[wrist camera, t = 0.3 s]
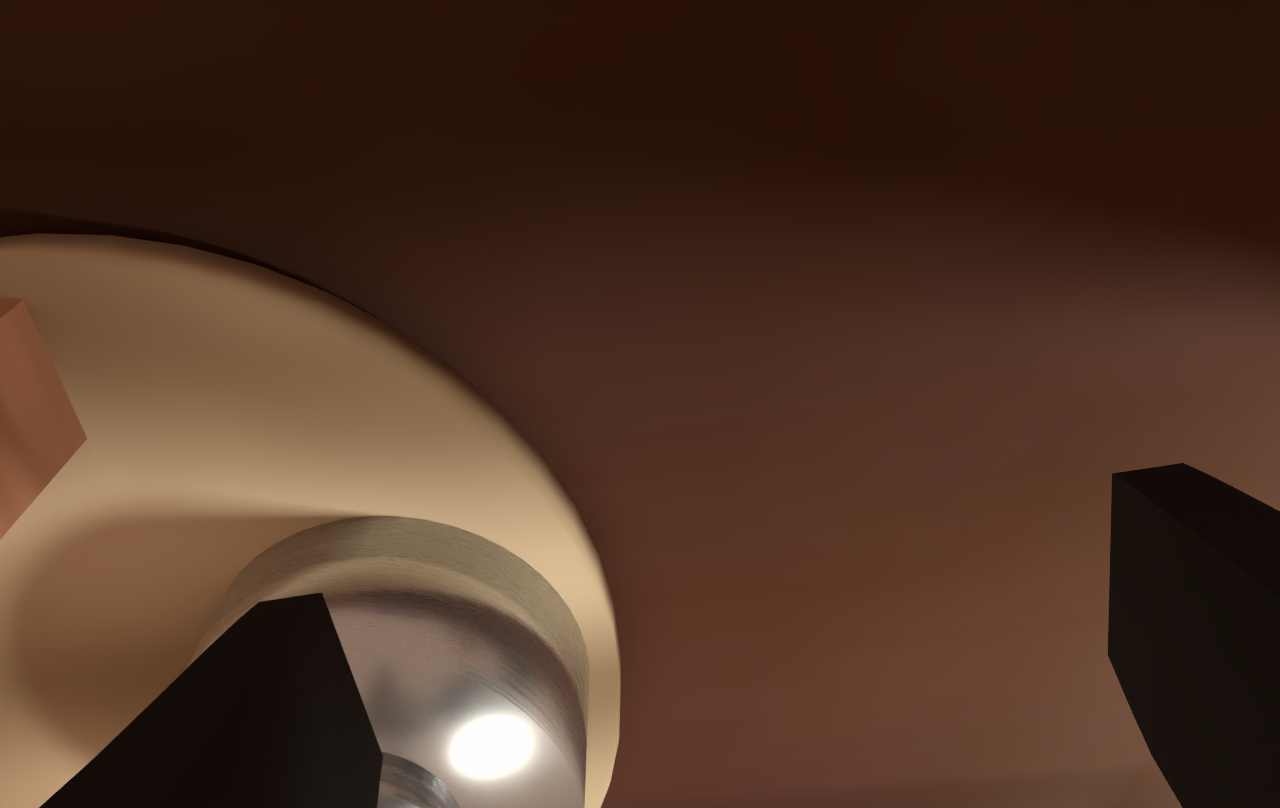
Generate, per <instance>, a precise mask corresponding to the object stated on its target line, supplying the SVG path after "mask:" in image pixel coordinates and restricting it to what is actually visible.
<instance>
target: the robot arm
mask: <svg viewBox="0 0 1280 808" xmlns="http://www.w3.org/2000/svg"><path fill="white" fill-rule="evenodd" d="M1108 656H1109V659H1110V661H1111V663H1112V666H1113V668H1114V670H1115V673H1116V675H1117V677H1118V680H1119V682H1120V685H1121V687H1122V689H1123V692H1124V694H1125V696H1126V699H1127V701H1128V704H1129V706H1130V708H1131V711H1132V713H1133V715H1134V717H1135V719H1136V722H1137V724H1138V726H1139V728H1140V730H1141V733H1142V735H1143V737H1144V739H1145V741H1146V744H1147V746H1148V748H1149V750H1150V752H1151V755H1152V756H1153V758H1154V760H1155V762H1156V763H1157V765H1158V767H1159V768H1160V770H1161V772H1162V774H1163V775H1164V777H1165V779H1166V780H1167V782H1168V784H1169V785H1170V787H1171V789H1172V791H1173V792H1174V794H1175V796H1176V797H1177V799H1178V801H1179V802H1180V804H1181V806H1182V807H1183V808H1280V511H1278V510H1276V509H1274V508H1272V507H1270V506H1268V505H1266V504H1265V503H1263V502H1261V501H1259V500H1257V499H1255V498H1253V497H1251V496H1249V495H1247V494H1245V493H1244V492H1242V491H1240V490H1238V489H1236V488H1234V487H1232V486H1230V485H1228V484H1226V483H1224V482H1222V481H1220V480H1218V479H1216V478H1214V477H1212V476H1210V475H1208V474H1206V473H1204V472H1202V471H1200V470H1197V469H1195V468H1193V467H1191V466H1189V465H1186V464H1184V463H1180V464H1173V465H1167V466H1160V467H1153V468H1147V469H1140V470H1133V471H1127V472H1120V473H1113V474H1112V505H1111V546H1110V588H1109V630H1108ZM382 760H383V755H382V752H381V749H380V746H379V744H378V741H377V738H376V736H375V733H374V730H373V728H372V725H371V722H370V720H369V717H368V714H367V712H366V709H365V706H364V704H363V701H362V698H361V696H360V693H359V690H358V687H357V685H356V682H355V679H354V677H353V674H352V671H351V669H350V666H349V663H348V661H347V658H346V655H345V653H344V650H343V647H342V645H341V642H340V639H339V637H338V634H337V631H336V629H335V626H334V623H333V620H332V618H331V615H330V612H329V610H328V607H327V604H326V602H325V599H324V596H323V594H322V592H321V593H314V594H308V595H301V596H294V597H288V598H281V599H274V600H268V601H261V602H258V603H257V604H256V605H255V606H253V607H252V608H251V609H250V610H249V611H247V612H246V613H245V614H244V615H243V616H241V617H240V618H239V619H238V620H237V621H236V622H235V623H234V624H233V625H232V626H230V627H229V628H228V629H227V630H226V631H225V632H224V633H223V634H222V635H221V636H220V637H219V638H218V639H217V640H216V641H214V642H213V643H212V644H211V645H210V646H209V647H208V648H207V649H206V650H205V651H204V652H203V653H202V654H201V655H200V656H199V657H198V658H197V659H196V660H195V661H194V662H193V663H192V664H191V665H190V666H189V667H188V668H187V669H186V670H185V671H183V672H182V673H181V674H180V675H179V676H178V677H177V678H176V679H175V680H174V681H173V682H172V683H171V684H170V685H169V686H168V687H167V688H166V689H165V690H164V691H163V692H162V693H161V694H160V695H159V696H158V697H157V698H156V699H155V700H154V701H153V702H152V703H151V704H150V705H149V706H147V707H146V708H145V709H144V710H143V711H142V712H141V713H140V714H139V715H138V716H137V717H136V718H135V719H134V720H133V721H132V722H131V723H130V724H129V725H128V726H127V727H126V728H125V729H124V730H123V731H122V732H120V733H119V734H118V735H117V736H116V737H115V738H114V739H113V740H112V741H111V742H110V743H109V744H108V745H107V746H106V747H105V748H104V749H103V750H102V751H101V752H100V753H99V754H98V755H97V756H96V757H94V758H93V759H92V760H91V761H90V762H89V763H88V764H87V765H86V766H85V767H84V768H82V769H81V770H80V771H79V772H78V773H77V774H76V775H75V776H74V777H72V778H71V779H70V780H69V781H68V782H67V783H66V784H65V785H64V786H62V787H61V788H60V789H59V790H58V791H57V792H56V793H55V794H54V795H52V796H51V797H50V798H49V799H48V800H47V801H46V802H45V803H43V804H42V805H41V806H40V807H39V808H377V804H378V795H379V786H380V778H381V769H382Z"/></svg>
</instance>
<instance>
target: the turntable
mask: <svg viewBox="0 0 1280 808" xmlns="http://www.w3.org/2000/svg"><path fill="white" fill-rule="evenodd" d="M368 516H401V517H409V518H417V519H425V520H430V521H434V522H439V523H443V524H447V525H451V526H455V527H458V528H460V529H463V530H466V531H469V532H472V533H475V534H477V535H480V536H482V537H484V538H486V539H488V540H490V541H492V542H494V543H496V544H498V545H500V546H502V547H504V548H505V549H507V550H509V551H510V552H512V553H513V554H515V555H516V556H518V557H520V558H521V559H523V560H524V561H525V562H526V563H528V564H529V565H530V566H531V567H533V568H534V569H535V570H536V571H537V572H539V573H540V574H541V575H542V576H543V577H544V578H545V579H546V580H547V581H548V582H549V583H550V584H551V585H552V586H553V587H554V589H555V590H556V591H557V592H558V593H559V594H560V596H561V597H562V599H563V600H564V601H565V603H566V604H567V606H568V607H569V608H570V610H571V612H572V614H573V616H574V618H575V620H576V622H577V623H578V625H579V627H580V630H581V633H582V636H583V639H584V642H585V645H586V648H587V654H588V660H589V667H590V672H589V707H588V732H587V756H586V781H585V806H584V808H600V807H601V805H602V802H603V800H604V797H605V795H606V792H607V790H608V787H609V785H610V781H611V776H612V771H613V766H614V761H615V757H616V752H617V747H618V742H619V721H620V644H619V637H618V629H617V622H616V615H615V608H614V602H613V599H612V596H611V593H610V589H609V586H608V583H607V580H606V576H605V573H604V570H603V567H602V563H601V560H600V557H599V554H598V552H597V550H596V548H595V546H594V544H593V542H592V540H591V537H590V535H589V533H588V531H587V529H586V527H585V525H584V523H583V521H582V519H581V517H580V515H579V513H578V511H577V508H576V506H575V505H574V503H573V502H572V500H571V499H570V497H569V496H568V494H567V493H566V491H565V490H564V488H563V487H562V485H561V484H560V482H559V481H558V479H557V478H556V476H555V475H554V473H553V472H552V470H551V469H550V468H549V466H548V465H547V463H546V462H545V460H544V459H543V457H542V456H541V455H540V454H539V453H538V451H537V450H536V449H535V448H534V447H533V446H532V445H531V444H530V442H529V441H528V440H527V439H526V438H525V437H524V436H523V435H522V433H521V432H520V431H519V430H518V429H517V428H516V427H515V425H514V424H513V423H512V422H511V421H510V420H509V419H508V418H507V416H506V415H505V414H504V413H503V412H502V411H501V410H500V409H499V408H498V407H497V406H496V405H494V404H493V403H492V402H491V401H490V400H489V399H488V398H487V397H485V396H484V395H483V394H482V393H481V392H480V391H479V390H477V389H476V388H475V387H474V386H473V385H472V384H471V383H469V382H468V381H467V380H466V379H465V378H464V377H463V376H461V375H460V374H459V373H458V372H457V371H456V370H455V369H453V368H452V367H451V366H450V365H448V364H447V363H445V362H444V361H443V360H441V359H440V358H438V357H437V356H435V355H434V354H432V353H431V352H429V351H428V350H426V349H425V348H424V347H422V346H421V345H419V344H418V343H416V342H415V341H413V340H412V339H410V338H409V337H407V336H406V335H405V334H403V333H402V332H400V331H399V330H397V329H396V328H394V327H393V326H391V325H389V324H387V323H385V322H383V321H381V320H380V319H378V318H376V317H374V316H372V315H370V314H368V313H366V312H364V311H363V310H361V309H359V308H357V307H355V306H353V305H351V304H349V303H347V302H345V301H344V300H342V299H340V298H338V297H336V296H334V295H332V294H330V293H328V292H326V291H323V290H321V289H318V288H316V287H313V286H310V285H308V284H305V283H303V282H300V281H298V280H295V279H292V278H290V277H287V276H285V275H282V274H280V273H277V272H275V271H272V270H269V269H267V268H264V267H262V266H259V265H256V264H252V263H248V262H244V261H240V260H237V259H233V258H229V257H225V256H222V255H218V254H214V253H210V252H207V251H203V250H199V249H195V248H191V247H188V246H182V245H176V244H169V243H162V242H155V241H148V240H141V239H134V238H127V237H120V236H114V235H84V234H43V233H36V234H26V235H16V236H6V237H0V808H39V807H40V806H41V805H42V804H43V803H45V802H46V801H47V800H48V799H49V798H50V797H51V796H52V795H54V794H55V793H56V792H57V791H58V790H59V789H60V788H61V787H62V786H64V785H65V784H66V783H67V782H68V781H69V780H70V779H71V778H72V777H74V776H75V775H76V774H77V773H78V772H79V771H80V770H81V769H82V768H84V767H85V766H86V765H87V764H88V763H89V762H90V761H91V760H92V759H93V758H94V757H96V756H97V755H98V754H99V753H100V752H101V751H102V750H103V749H104V748H105V747H106V746H107V745H108V744H109V743H110V742H111V741H112V740H113V739H114V738H115V737H116V736H117V735H118V734H119V733H120V732H122V731H123V730H124V729H125V728H126V727H127V726H128V725H129V724H130V723H131V722H132V721H133V720H134V719H135V718H136V717H137V716H138V715H139V714H140V713H141V712H142V711H143V710H144V709H145V708H146V707H147V706H149V705H150V704H151V703H152V702H153V701H154V700H155V699H156V698H157V697H158V696H159V695H160V694H161V693H162V692H163V691H164V690H165V689H166V688H167V687H168V686H169V685H170V684H171V683H172V682H173V681H174V680H175V679H176V678H177V677H178V676H179V675H180V674H181V673H182V672H183V671H185V669H186V667H187V665H188V663H189V661H190V659H191V657H192V655H193V654H194V652H195V650H196V648H197V646H198V644H199V642H200V640H201V638H202V636H203V634H204V632H205V630H206V628H207V626H208V624H209V622H210V620H211V619H212V617H213V615H214V613H215V611H216V609H217V607H218V605H219V603H220V601H221V599H222V598H223V596H224V594H225V592H226V590H227V589H228V587H229V585H230V584H231V583H232V582H233V580H234V579H235V578H236V577H237V575H238V574H239V573H240V572H241V570H242V569H243V568H245V567H246V566H247V565H248V564H249V563H250V562H251V561H252V560H253V559H254V558H255V557H257V556H258V555H259V554H260V553H262V552H263V551H265V550H266V549H268V548H269V547H271V546H272V545H274V544H275V543H277V542H279V541H281V540H283V539H285V538H287V537H289V536H291V535H293V534H295V533H297V532H299V531H302V530H305V529H308V528H311V527H314V526H317V525H320V524H323V523H328V522H333V521H338V520H342V519H347V518H357V517H368Z"/></svg>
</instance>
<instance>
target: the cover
mask: <svg viewBox="0 0 1280 808" xmlns="http://www.w3.org/2000/svg"><path fill="white" fill-rule="evenodd" d="M321 592H322V594H323V596H324V599H325V602H326V604H327V607H328V610H329V612H330V615H331V618H332V620H333V623H334V626H335V629H336V631H337V634H338V637H339V639H340V642H341V645H342V647H343V650H344V653H345V655H346V658H347V661H348V663H349V666H350V669H351V671H352V674H353V677H354V679H355V682H356V685H357V687H358V690H359V693H360V696H361V698H362V701H363V704H364V706H365V709H366V712H367V714H368V717H369V720H370V722H371V725H372V728H373V730H374V733H375V736H376V738H377V741H378V744H379V746H380V749H381V752H382V755H383V760H382V769H381V778H380V786H379V795H378V804H377V808H584V806H585V781H586V756H587V732H588V707H589V672H590V667H589V660H588V654H587V648H586V645H585V642H584V639H583V636H582V633H581V630H580V627H579V625H578V623H577V622H576V620H575V618H574V616H573V614H572V612H571V610H570V608H569V607H568V606H567V604H566V603H565V601H564V600H563V599H562V597H561V596H560V594H559V593H558V592H557V591H556V590H555V589H554V587H553V586H552V585H551V584H550V583H549V582H548V581H547V580H546V579H545V578H544V577H543V576H542V575H541V574H540V573H539V572H537V571H536V570H535V569H534V568H533V567H531V566H530V565H529V564H528V563H526V562H525V561H524V560H523V559H521V558H520V557H518V556H516V555H515V554H513V553H512V552H510V551H509V550H507V549H505V548H504V547H502V546H500V545H498V544H496V543H494V542H492V541H490V540H488V539H486V538H484V537H482V536H480V535H477V534H475V533H472V532H469V531H466V530H463V529H460V528H458V527H455V526H451V525H447V524H443V523H439V522H434V521H430V520H425V519H417V518H409V517H401V516H368V517H357V518H347V519H342V520H338V521H333V522H328V523H323V524H320V525H317V526H314V527H311V528H308V529H305V530H302V531H299V532H297V533H295V534H293V535H291V536H289V537H287V538H285V539H283V540H281V541H279V542H277V543H275V544H274V545H272V546H271V547H269V548H268V549H266V550H265V551H263V552H262V553H260V554H259V555H258V556H257V557H255V558H254V559H253V560H252V561H251V562H250V563H249V564H248V565H247V566H246V567H245V568H243V569H242V570H241V572H240V573H239V574H238V575H237V577H236V578H235V579H234V580H233V582H232V583H231V584H230V585H229V587H228V589H227V590H226V592H225V594H224V596H223V598H222V599H221V601H220V603H219V605H218V607H217V609H216V611H215V613H214V615H213V617H212V619H211V620H210V622H209V624H208V626H207V628H206V630H205V632H204V634H203V636H202V638H201V640H200V642H199V644H198V646H197V648H196V650H195V652H194V654H193V655H192V657H191V659H190V661H189V663H188V665H187V667H186V669H187V668H188V667H189V666H190V665H191V664H192V663H193V662H194V661H195V660H196V659H197V658H198V657H199V656H200V655H201V654H202V653H203V652H204V651H205V650H206V649H207V648H208V647H209V646H210V645H211V644H212V643H213V642H214V641H216V640H217V639H218V638H219V637H220V636H221V635H222V634H223V633H224V632H225V631H226V630H227V629H228V628H229V627H230V626H232V625H233V624H234V623H235V622H236V621H237V620H238V619H239V618H240V617H241V616H243V615H244V614H245V613H246V612H247V611H249V610H250V609H251V608H252V607H253V606H255V605H256V604H257V603H258V602H261V601H268V600H274V599H281V598H288V597H294V596H301V595H308V594H314V593H321ZM186 669H185V670H186Z"/></svg>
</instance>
